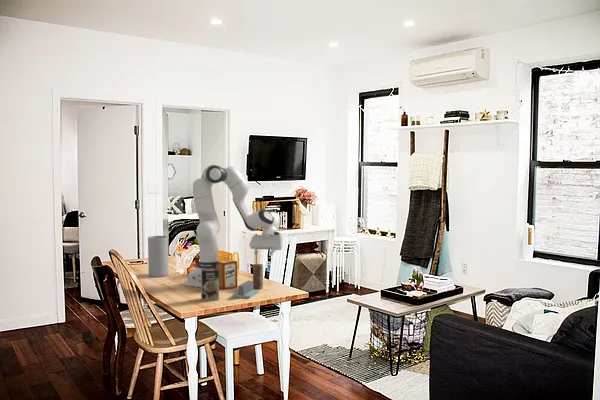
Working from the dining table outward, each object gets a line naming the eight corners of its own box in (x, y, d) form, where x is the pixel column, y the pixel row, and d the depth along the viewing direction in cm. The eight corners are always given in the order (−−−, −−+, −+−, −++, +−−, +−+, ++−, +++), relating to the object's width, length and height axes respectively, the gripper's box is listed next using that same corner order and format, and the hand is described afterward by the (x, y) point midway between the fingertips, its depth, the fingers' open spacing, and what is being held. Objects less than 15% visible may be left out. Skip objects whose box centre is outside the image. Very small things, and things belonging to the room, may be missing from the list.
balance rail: (232, 297, 300) (232, 285, 299) (242, 291, 313) (242, 280, 313) (249, 298, 297) (249, 286, 296) (258, 292, 310) (258, 281, 310)
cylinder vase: (165, 277, 350) (164, 238, 348) (146, 277, 351) (145, 238, 349) (170, 273, 363) (169, 235, 361) (151, 273, 363) (151, 235, 361)
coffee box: (202, 301, 292) (201, 271, 290) (201, 298, 298) (200, 268, 297) (219, 300, 294) (218, 270, 293) (217, 297, 300) (217, 267, 299)
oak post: (253, 289, 319) (252, 265, 318) (255, 287, 322) (255, 263, 321) (260, 289, 317) (260, 265, 316) (262, 287, 321) (262, 264, 320)
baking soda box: (223, 289, 317) (223, 262, 316) (217, 287, 322) (217, 260, 321) (237, 287, 323) (237, 260, 322) (231, 285, 328) (231, 258, 327)
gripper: (251, 232, 337) (245, 250, 328) (283, 233, 331) (278, 252, 322) (254, 238, 341) (248, 256, 333) (285, 239, 335) (280, 258, 327)
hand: (263, 254), depth 327 cm, fingers open, 8 cm apart
